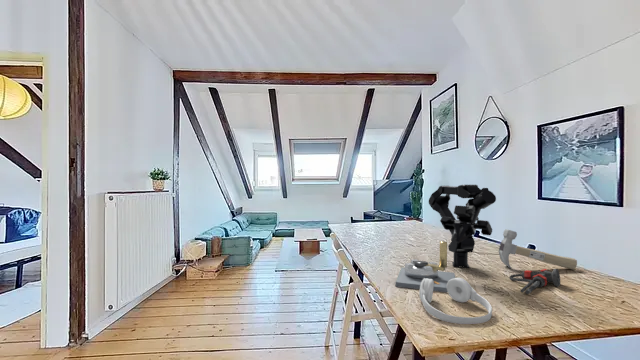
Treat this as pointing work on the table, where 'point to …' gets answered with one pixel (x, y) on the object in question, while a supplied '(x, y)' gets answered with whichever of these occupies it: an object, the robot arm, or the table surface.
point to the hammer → (530, 253)
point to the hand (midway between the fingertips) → (457, 242)
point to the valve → (537, 279)
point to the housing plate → (410, 282)
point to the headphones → (458, 292)
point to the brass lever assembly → (427, 265)
